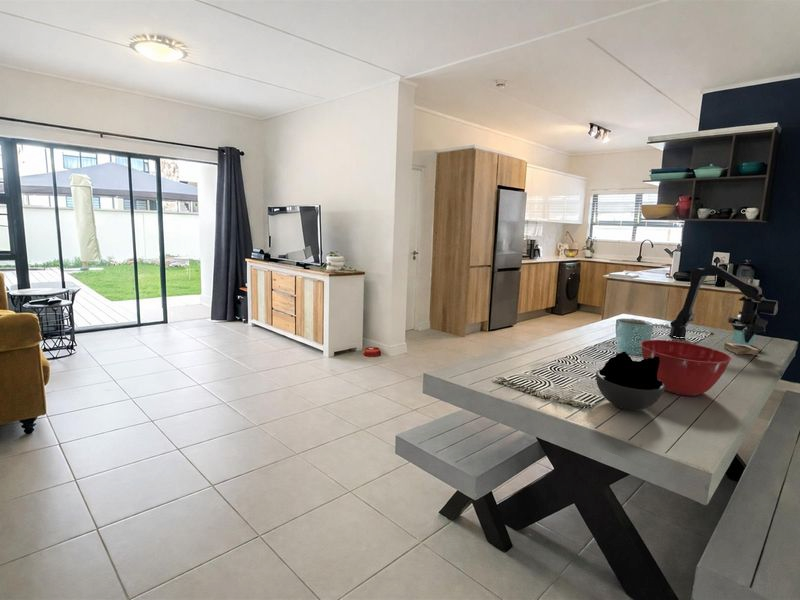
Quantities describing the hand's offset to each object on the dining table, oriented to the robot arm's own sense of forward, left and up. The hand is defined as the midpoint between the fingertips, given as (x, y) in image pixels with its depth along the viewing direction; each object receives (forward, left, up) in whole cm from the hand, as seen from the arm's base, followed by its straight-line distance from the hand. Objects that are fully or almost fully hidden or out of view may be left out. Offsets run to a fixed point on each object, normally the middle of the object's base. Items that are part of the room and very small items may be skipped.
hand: (742, 340), depth 220 cm
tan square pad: (0, 0, -6) cm, 6 cm away
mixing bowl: (-62, -65, -6) cm, 90 cm away
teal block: (0, 0, -1) cm, 1 cm away
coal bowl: (-90, -88, -6) cm, 126 cm away
